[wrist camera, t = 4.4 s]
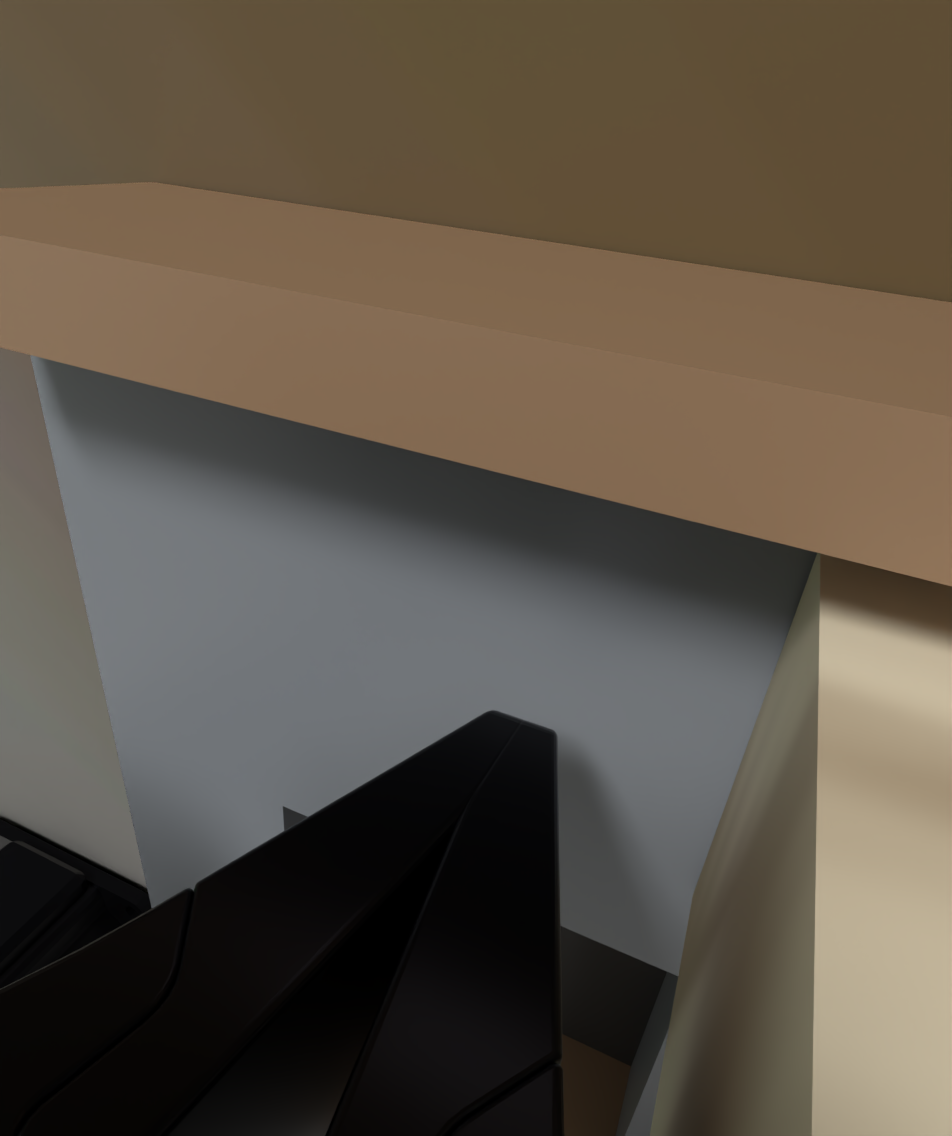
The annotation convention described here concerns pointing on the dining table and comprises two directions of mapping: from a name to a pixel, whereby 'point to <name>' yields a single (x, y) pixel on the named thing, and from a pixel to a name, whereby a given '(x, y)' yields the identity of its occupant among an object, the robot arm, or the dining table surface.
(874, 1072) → the block
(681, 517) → the box
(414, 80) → the dining table surface
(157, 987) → the robot arm
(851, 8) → the dining table surface
